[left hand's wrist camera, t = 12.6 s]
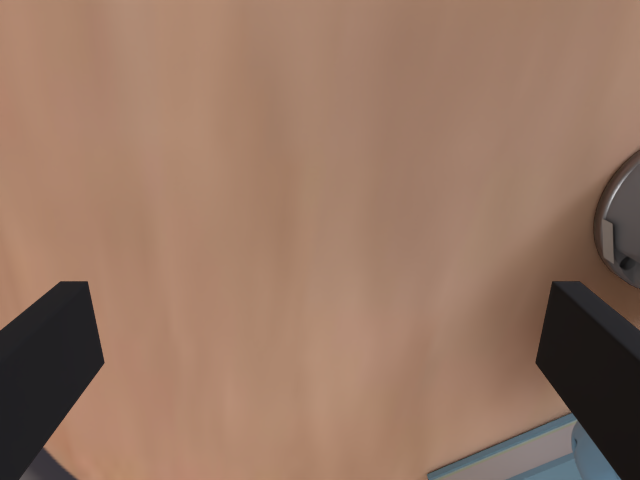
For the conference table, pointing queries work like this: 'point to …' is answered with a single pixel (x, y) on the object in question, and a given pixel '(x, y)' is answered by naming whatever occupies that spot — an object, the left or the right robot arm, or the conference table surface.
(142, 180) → the conference table surface
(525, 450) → the book
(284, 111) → the conference table surface
